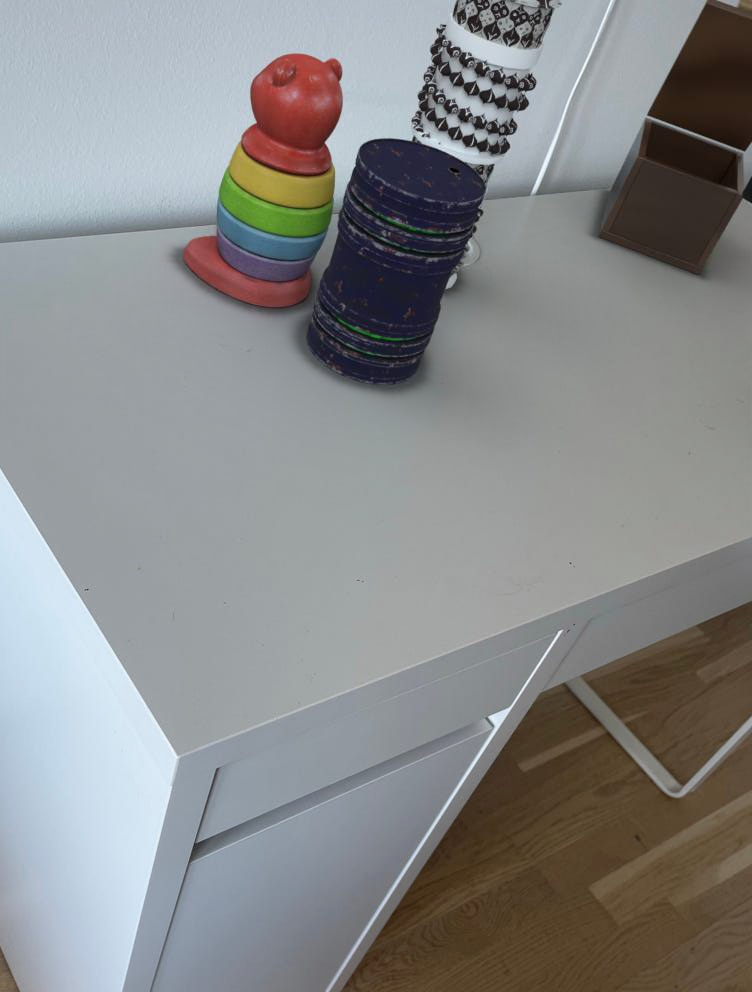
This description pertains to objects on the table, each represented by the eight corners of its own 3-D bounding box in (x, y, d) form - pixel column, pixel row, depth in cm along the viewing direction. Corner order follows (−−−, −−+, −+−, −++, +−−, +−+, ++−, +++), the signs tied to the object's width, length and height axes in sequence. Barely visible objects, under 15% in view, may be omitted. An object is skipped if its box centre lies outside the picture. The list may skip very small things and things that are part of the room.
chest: (698, 274, 108) (744, 195, 101) (598, 236, 108) (637, 155, 102) (701, 228, 117) (743, 153, 111) (608, 193, 118) (645, 117, 111)
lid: (819, 43, 96) (831, 7, 97) (706, 2, 97) (719, -33, 98) (744, 152, 110) (756, 119, 111) (646, 115, 111) (658, 83, 112)
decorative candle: (347, 246, 94) (438, -63, 75) (419, 237, 98) (521, -55, 80) (405, 298, 89) (516, -15, 71) (478, 287, 94) (599, -10, 76)
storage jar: (338, 390, 77) (399, 203, 66) (284, 318, 82) (332, 135, 71) (441, 380, 81) (514, 204, 71) (384, 313, 87) (443, 139, 76)
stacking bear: (276, 242, 91) (327, 29, 78) (337, 302, 86) (402, 86, 73) (173, 252, 85) (209, 25, 72) (233, 317, 81) (282, 86, 68)
